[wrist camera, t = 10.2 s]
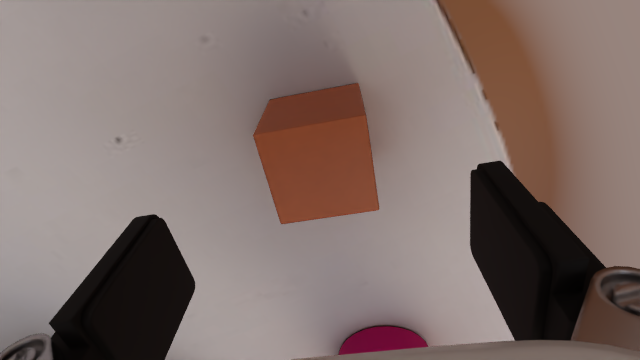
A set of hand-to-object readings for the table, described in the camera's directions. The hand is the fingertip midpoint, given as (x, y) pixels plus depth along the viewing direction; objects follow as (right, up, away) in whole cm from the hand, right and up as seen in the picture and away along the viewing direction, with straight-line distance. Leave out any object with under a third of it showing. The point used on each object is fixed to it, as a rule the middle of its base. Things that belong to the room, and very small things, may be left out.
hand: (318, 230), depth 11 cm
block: (0, +4, +6) cm, 7 cm away
